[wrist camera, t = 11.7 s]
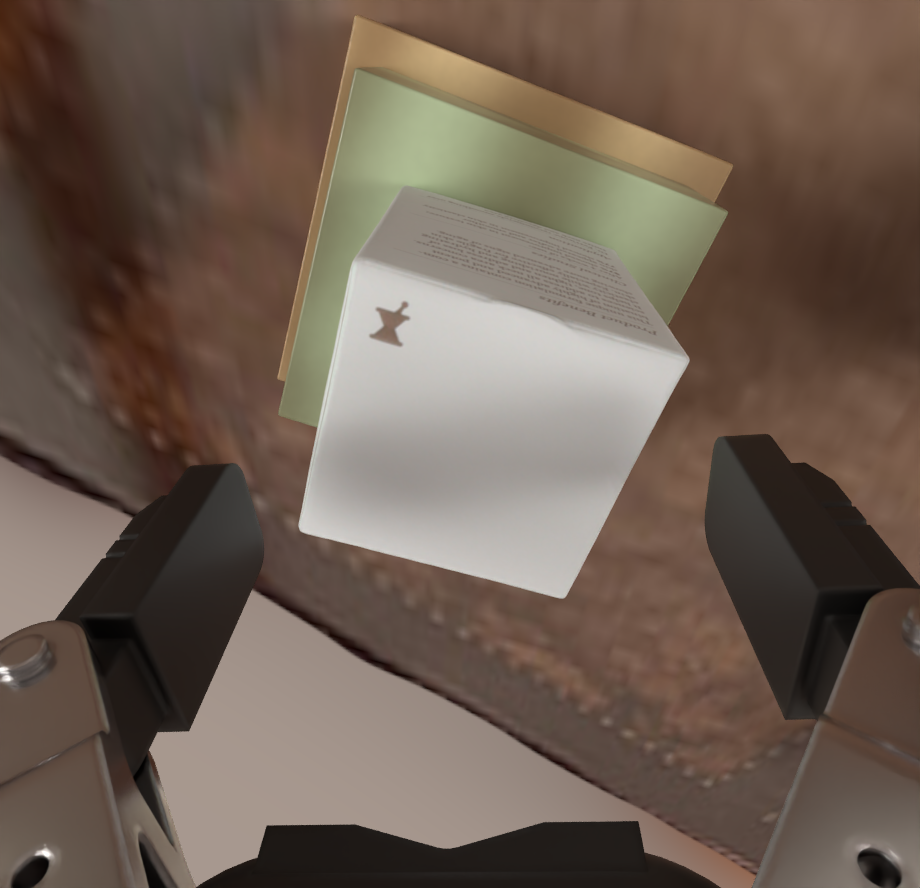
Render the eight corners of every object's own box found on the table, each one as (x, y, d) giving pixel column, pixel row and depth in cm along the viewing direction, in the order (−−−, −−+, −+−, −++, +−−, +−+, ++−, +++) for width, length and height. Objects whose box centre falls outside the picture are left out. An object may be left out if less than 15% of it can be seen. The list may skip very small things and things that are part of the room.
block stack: (303, 339, 28) (240, 432, 21) (376, 21, 22) (322, 2, 15) (564, 425, 29) (586, 537, 22) (698, 149, 23) (786, 186, 16)
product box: (352, 382, 20) (286, 535, 13) (402, 176, 17) (346, 247, 10) (543, 437, 20) (567, 608, 14) (624, 249, 17) (701, 357, 11)
